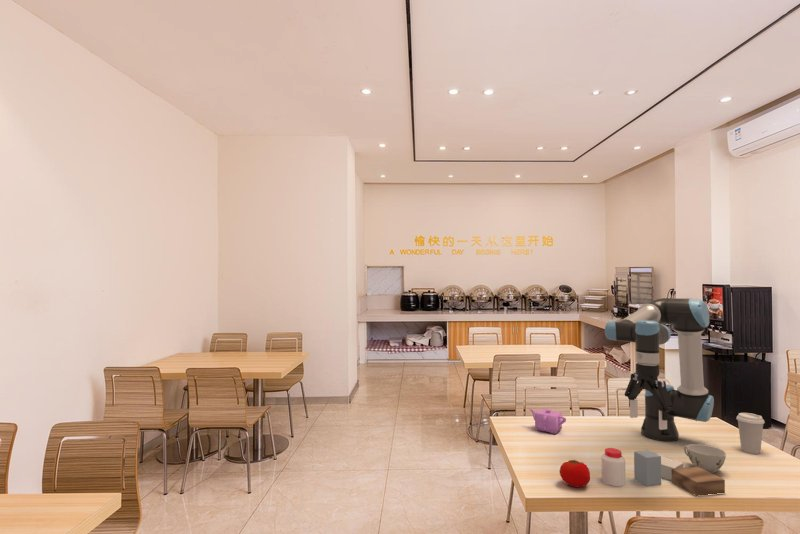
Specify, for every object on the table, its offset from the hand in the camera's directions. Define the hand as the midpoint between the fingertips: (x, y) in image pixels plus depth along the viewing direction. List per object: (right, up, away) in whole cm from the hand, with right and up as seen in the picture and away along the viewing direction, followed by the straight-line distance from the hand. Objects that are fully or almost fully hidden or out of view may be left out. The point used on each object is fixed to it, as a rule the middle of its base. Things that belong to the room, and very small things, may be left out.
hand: (647, 423), depth 164 cm
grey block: (+10, -21, +5) cm, 24 cm away
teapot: (-18, -22, +55) cm, 62 cm away
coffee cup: (+59, -22, +29) cm, 70 cm away
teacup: (+27, -22, +11) cm, 36 cm away
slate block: (0, -21, 0) cm, 21 cm away
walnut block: (+15, -21, -5) cm, 26 cm away
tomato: (-27, -21, -3) cm, 35 cm away
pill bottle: (-12, -21, 0) cm, 25 cm away
